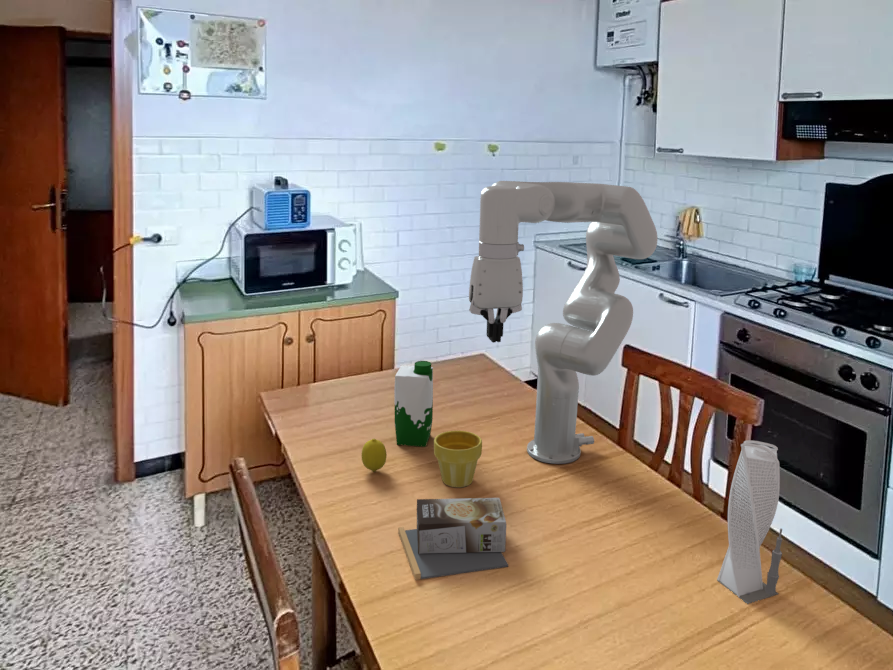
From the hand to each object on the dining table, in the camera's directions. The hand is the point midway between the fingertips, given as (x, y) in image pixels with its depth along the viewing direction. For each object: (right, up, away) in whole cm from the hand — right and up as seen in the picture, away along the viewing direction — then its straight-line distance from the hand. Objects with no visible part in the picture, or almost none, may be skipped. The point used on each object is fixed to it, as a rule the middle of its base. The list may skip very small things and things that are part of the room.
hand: (494, 340), depth 148 cm
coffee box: (+1, -34, -11) cm, 36 cm away
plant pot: (-7, -31, +12) cm, 34 cm away
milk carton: (-18, -25, +31) cm, 44 cm away
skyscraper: (+41, -43, -22) cm, 63 cm away
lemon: (-26, -30, +15) cm, 42 cm away
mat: (-8, -39, -13) cm, 41 cm away
